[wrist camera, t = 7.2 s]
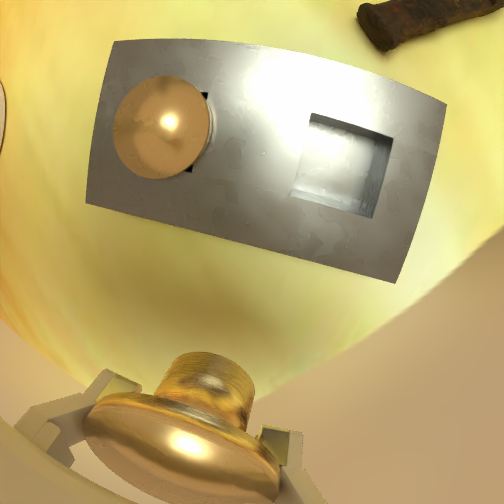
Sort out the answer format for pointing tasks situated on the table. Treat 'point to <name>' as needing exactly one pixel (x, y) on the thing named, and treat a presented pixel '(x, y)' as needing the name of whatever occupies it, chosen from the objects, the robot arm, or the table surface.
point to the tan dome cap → (187, 436)
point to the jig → (265, 150)
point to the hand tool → (416, 17)
